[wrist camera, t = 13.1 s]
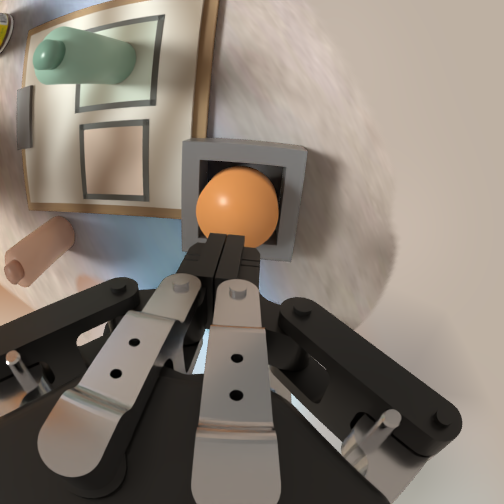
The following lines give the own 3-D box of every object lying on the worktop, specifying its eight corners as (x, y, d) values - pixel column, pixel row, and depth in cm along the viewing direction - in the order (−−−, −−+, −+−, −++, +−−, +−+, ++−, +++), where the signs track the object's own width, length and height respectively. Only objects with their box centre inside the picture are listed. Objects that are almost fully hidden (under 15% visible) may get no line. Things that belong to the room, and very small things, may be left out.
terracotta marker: (52, 247, 25) (5, 289, 18) (46, 215, 23) (-7, 253, 16) (77, 250, 25) (30, 297, 18) (71, 216, 23) (17, 258, 16)
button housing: (191, 234, 24) (182, 251, 21) (193, 137, 20) (182, 141, 17) (288, 244, 24) (291, 262, 21) (302, 145, 20) (307, 151, 17)
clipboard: (31, 208, 23) (24, 213, 22) (31, 30, 14) (23, 29, 13) (203, 218, 23) (200, 224, 22) (221, -12, 14) (218, -18, 13)
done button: (203, 231, 21) (195, 247, 19) (205, 163, 18) (197, 170, 16) (272, 238, 21) (273, 254, 18) (281, 169, 18) (283, 177, 16)
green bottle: (94, 85, 17) (20, 89, 10) (100, 44, 15) (28, 32, 8) (132, 83, 17) (61, 81, 10) (139, 39, 15) (72, 17, 8)
